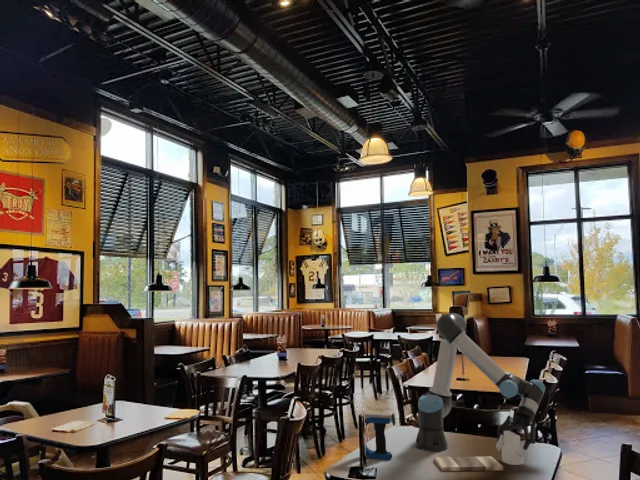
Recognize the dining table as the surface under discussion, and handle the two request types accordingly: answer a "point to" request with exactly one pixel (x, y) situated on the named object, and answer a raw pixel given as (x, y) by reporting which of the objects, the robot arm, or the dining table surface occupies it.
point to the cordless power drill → (379, 434)
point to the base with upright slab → (511, 449)
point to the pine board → (467, 463)
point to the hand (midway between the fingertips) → (508, 451)
